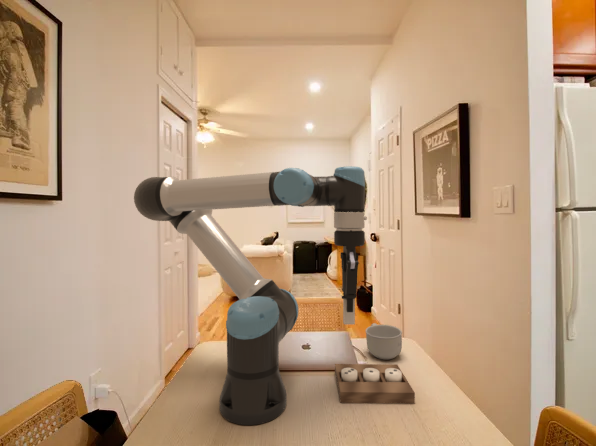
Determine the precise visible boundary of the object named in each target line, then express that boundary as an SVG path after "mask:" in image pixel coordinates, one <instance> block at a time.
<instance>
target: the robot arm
mask: <svg viewBox="0 0 596 446" xmlns="http://www.w3.org/2000/svg"><path fill="white" fill-rule="evenodd" d="M365 179H366V176H365V170H364V169H363V168H362V167H360V166H352V165H351V166H349V165H348V166H347V165H346V166H339V167H336V168H335V169H334V173H333V175H329V176H313V175H312V174H310V173H308V172H307V171H305V170H304V169H300V168H297V167H287V168H284V169H282V170H280V171H272V172H261V173H258V172H257V173H246V174H238V175H237V174H236V175H226V176H224V175H223V176H216V177H215V176H212V177H211V176H210V177H202V178H201V177H200V178H191V179H190V178H189V179H179V178H177V177H176V176H163V177H162V176H161V177H160V176H151V177H148V178H146V179H144V180H142V181H141V182H140V183H139V184H138V185H137V187H136V188H135V189H134V190H135V191H134V192H133V193H134V194H133V202H134V205H135V208H136V210H137V211H138V213H140V215H142V216H143V217H145V218H146V219H148V220H151V221H157V222H158V221H159V222H169V223H170V224H171V225H172V226H173V228H174V229H175V230H176V232H177V233H178V234H180V235H181V234H182V235H187V236H188V237H189V239H190V240H191V241H192V242H193V244H194V245H195V246H196V247H197V249H199V251H200V252H201V253H202V255H203V257H205V259H206V260H207V261H208V262H209V263H210V265H211V266H212V267H213V268H214V270H215V271H216V272H217V273H218V274H219V276H220V277H221V278H222V279H223V281H224V282H225V283H226V285H228V287H229V288H230V289H231V291H232V293H234V294H235V296H236V297H237V298H238V300H237V301H234V302H233V303H232V304H231V305H230V306H229V307H228V310H227V314H226V321H225V328H226V363H227V368H226V369H227V373H226V376H225V379H224V382H223V385H222V389H221V392H220V394H219V412H220V415H221V416H222V418H224V419H225V420H227V421H228V422H230V423H234V424H237V425H240V426H241V425H242V426H254V425H256V426H257V425H261V424H264V423H267V422H270V421H273V420H275V419H276V418H278V417H279V416H281V414H283V412H284V411H285V409H286V407H287V390H286V387H285V384H284V381H283V378H282V374H281V371H280V370H279V369H280V368H279V364H280V362H279V357H280V356H279V352H280V351H279V346H280V342H281V341H282V340H283V338H285V336H286V335H287V334H288V333H289V332H290V331H291V330H292V329H293V328H294V326H295V325H296V323H297V320H298V317H299V305H298V302H297V299H296V298H295V296H294V295H293V294H292V293H291V292H290V291H288V290H286V289H283V288H280V286H278V284H277V283H276V282H274V280H273V279H272V278H265V277H263V275H262V274H261V273H260V272H259V270H257V268H256V267H255V266H254V265H253V263H252V262H251V261H250V260H249V259H248V257H247V256H246V255H245V254H244V252H242V250H241V249H240V248H239V246H237V244H236V243H235V242H234V241H233V240H232V238H231V237H230V236H229V234H228V233H227V232H226V231H225V230H224V229H223V227H222V226H221V225H220V224H219V223H218V222H217V221H216V219H215V218H214V217H213V215H212V214H213V210H225V209H226V210H227V209H242V208H259V207H262V208H263V207H275V206H278V207H279V206H280V207H283V206H291V207H292V206H293V207H302V208H304V207H325V206H327V207H331V206H332V207H334V211H333V227H334V228H335V229H336V230H334V232H333V233H334V235H333V243H334V245H335V246H337V247H338V246H339V247H342V252H340V259H341V282H342V283H341V285H342V287H341V288H342V289H341V291H342V295H341V299H342V301H343V303H342V304H343V305H342V307H343V309H342V323H343V325H355V324H356V298H358V297H357V295H358V294H357V290H358V270H359V269H358V268H359V265H360V262H359V253H357V249H356V247H362V246H364V245H365V244H366V241H365V240H366V239H365V237H366V235H365V234H366V233H365V231H364V230H363V229H364V228H365V222H366V221H367V219H368V217H367V216H366V215H365V211H366V208H365V207H366V203H365V202H366V180H365Z"/></svg>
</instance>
